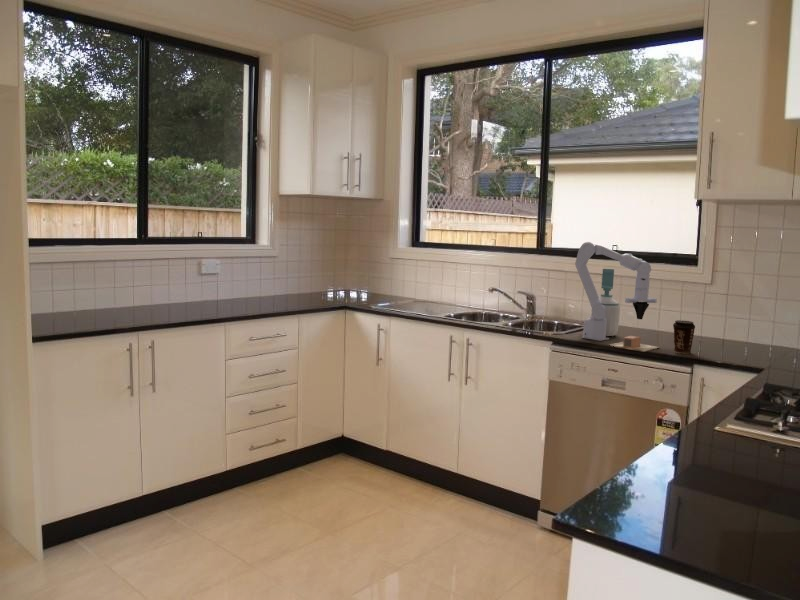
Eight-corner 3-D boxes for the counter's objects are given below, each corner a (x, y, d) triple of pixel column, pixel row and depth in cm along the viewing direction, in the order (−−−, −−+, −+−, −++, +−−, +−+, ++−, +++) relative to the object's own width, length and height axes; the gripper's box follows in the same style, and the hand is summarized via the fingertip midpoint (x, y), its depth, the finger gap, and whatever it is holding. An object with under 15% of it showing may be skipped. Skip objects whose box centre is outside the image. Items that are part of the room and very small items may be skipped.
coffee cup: (673, 349, 290) (675, 319, 288) (694, 352, 286) (696, 321, 284) (669, 352, 282) (672, 321, 281) (691, 355, 278) (693, 323, 277)
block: (631, 344, 295) (622, 346, 290) (632, 335, 294) (623, 337, 289) (640, 346, 292) (631, 348, 287) (640, 337, 292) (632, 338, 286)
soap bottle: (589, 336, 317) (594, 268, 314) (590, 332, 329) (594, 267, 325) (617, 338, 314) (622, 270, 310) (617, 334, 326) (622, 268, 322)
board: (608, 345, 294) (608, 344, 294) (624, 342, 303) (625, 341, 303) (644, 351, 282) (644, 350, 282) (659, 348, 292) (659, 347, 292)
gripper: (650, 287, 308) (648, 317, 310) (622, 287, 304) (620, 317, 306) (660, 289, 301) (658, 319, 303) (631, 289, 298) (629, 320, 299)
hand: (639, 319), depth 304 cm, fingers closed
